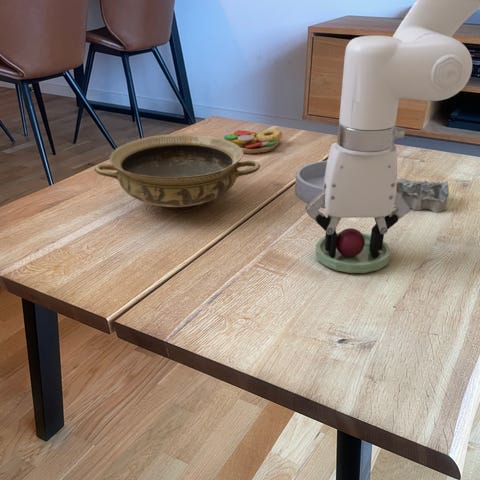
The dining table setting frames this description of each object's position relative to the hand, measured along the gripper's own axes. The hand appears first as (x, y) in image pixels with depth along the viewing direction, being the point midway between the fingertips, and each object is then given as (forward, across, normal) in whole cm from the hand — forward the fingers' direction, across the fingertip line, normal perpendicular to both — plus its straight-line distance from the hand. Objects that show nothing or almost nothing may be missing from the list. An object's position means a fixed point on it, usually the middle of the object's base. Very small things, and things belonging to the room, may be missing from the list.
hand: (352, 253), depth 86 cm
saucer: (+1, 0, 0) cm, 1 cm away
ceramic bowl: (+1, +29, -22) cm, 36 cm away
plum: (-2, 0, 0) cm, 2 cm away
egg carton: (+1, -16, -22) cm, 27 cm away
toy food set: (+1, +15, -58) cm, 60 cm away
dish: (+1, -2, -28) cm, 28 cm away
